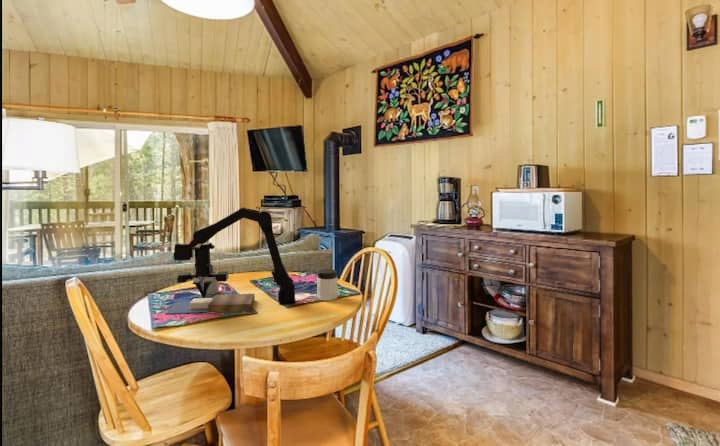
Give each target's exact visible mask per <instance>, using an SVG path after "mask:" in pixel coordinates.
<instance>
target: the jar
mask: <svg viewBox="0 0 720 446" xmlns="http://www.w3.org/2000/svg"><path fill="white" fill-rule="evenodd" d="M337 275H338V272H337V270H336V269H332V268H323V269H319V270H318V271H317V277H316V290H317V291H316V294H317V295H316V297H318V298H317V299H319V300H320V301H324V302H325V301H326V302H331V301H333V300H336V299H338V277H337Z"/></svg>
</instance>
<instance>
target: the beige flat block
mask: <svg viewBox="0 0 720 446" xmlns="http://www.w3.org/2000/svg"><path fill="white" fill-rule="evenodd" d="M213 298H214V297H205V298H203V297H197V298H196V297H195V298H192V300H191V301H189V302H190V309H199V308H208V305H209V304H210V302H211V301H212V299H213Z"/></svg>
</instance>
